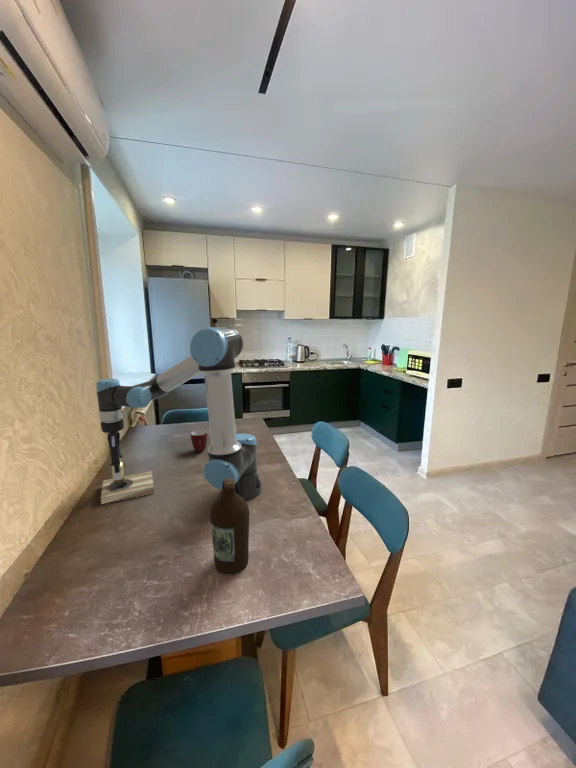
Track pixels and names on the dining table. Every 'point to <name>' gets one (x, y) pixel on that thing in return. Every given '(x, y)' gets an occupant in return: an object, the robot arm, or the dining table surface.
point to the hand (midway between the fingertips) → (118, 476)
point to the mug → (199, 440)
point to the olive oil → (230, 530)
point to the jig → (127, 487)
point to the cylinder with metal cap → (122, 474)
